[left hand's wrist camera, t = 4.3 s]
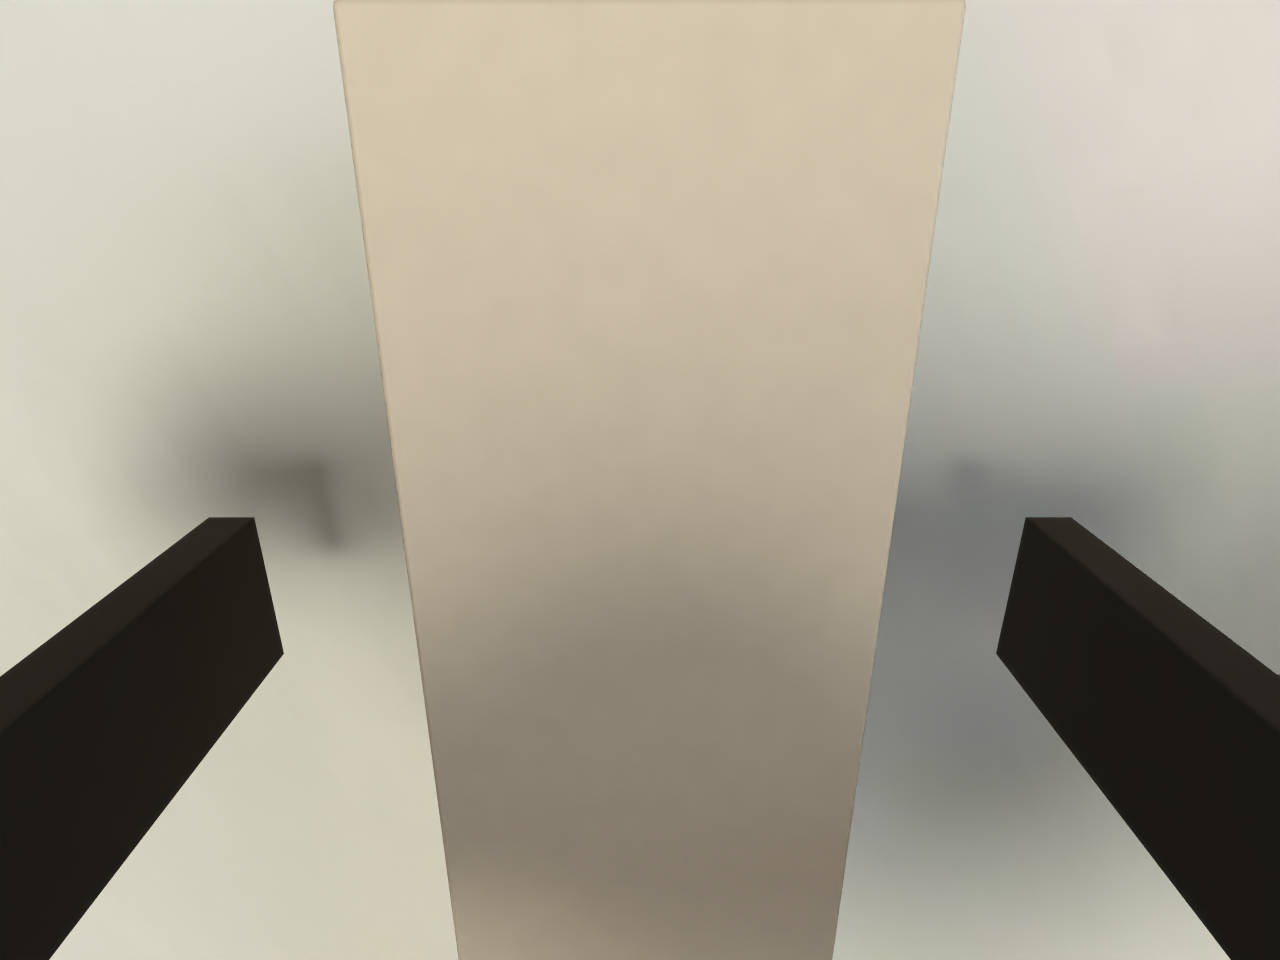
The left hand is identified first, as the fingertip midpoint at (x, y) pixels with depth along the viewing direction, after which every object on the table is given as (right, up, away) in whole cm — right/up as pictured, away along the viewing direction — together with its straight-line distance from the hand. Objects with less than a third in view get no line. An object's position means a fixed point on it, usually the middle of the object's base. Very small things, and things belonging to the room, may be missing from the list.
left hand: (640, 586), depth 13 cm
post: (0, -29, +15) cm, 32 cm away
